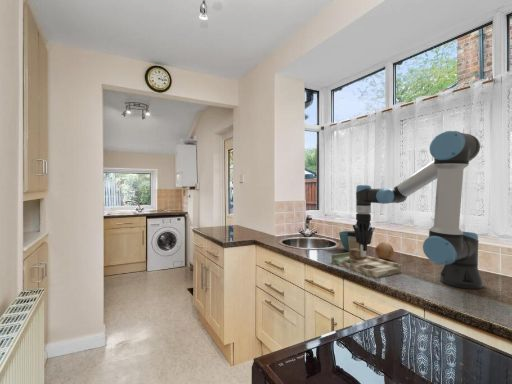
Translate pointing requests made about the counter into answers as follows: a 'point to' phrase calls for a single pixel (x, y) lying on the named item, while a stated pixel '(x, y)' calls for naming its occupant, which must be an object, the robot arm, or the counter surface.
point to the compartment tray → (367, 265)
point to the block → (355, 254)
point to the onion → (384, 251)
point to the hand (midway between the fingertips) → (363, 256)
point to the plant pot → (344, 239)
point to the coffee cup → (352, 240)
